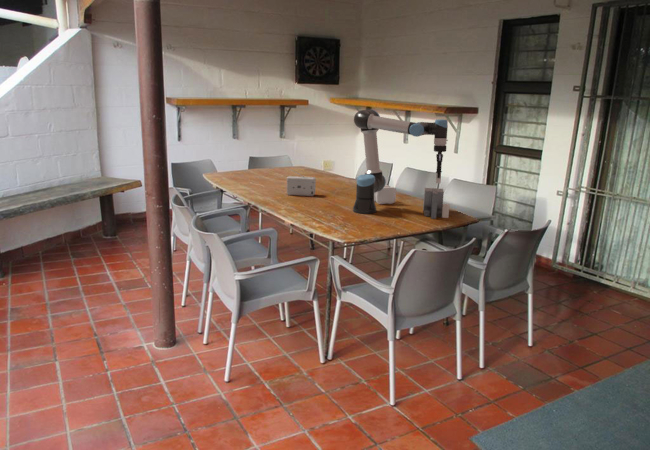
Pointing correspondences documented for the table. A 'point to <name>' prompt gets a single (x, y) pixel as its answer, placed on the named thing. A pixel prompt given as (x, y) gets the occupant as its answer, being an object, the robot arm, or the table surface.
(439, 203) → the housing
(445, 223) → the table surface
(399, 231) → the table surface
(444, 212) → the plug
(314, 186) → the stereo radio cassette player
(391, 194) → the cable organizer
